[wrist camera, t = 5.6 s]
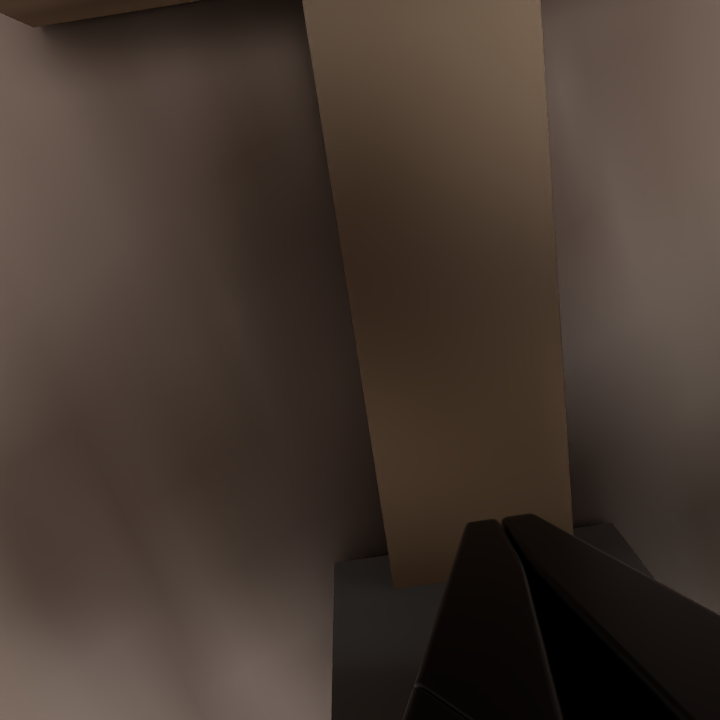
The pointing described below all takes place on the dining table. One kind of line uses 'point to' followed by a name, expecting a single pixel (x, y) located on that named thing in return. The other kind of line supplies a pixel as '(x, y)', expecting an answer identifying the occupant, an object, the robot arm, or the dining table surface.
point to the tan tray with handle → (433, 298)
